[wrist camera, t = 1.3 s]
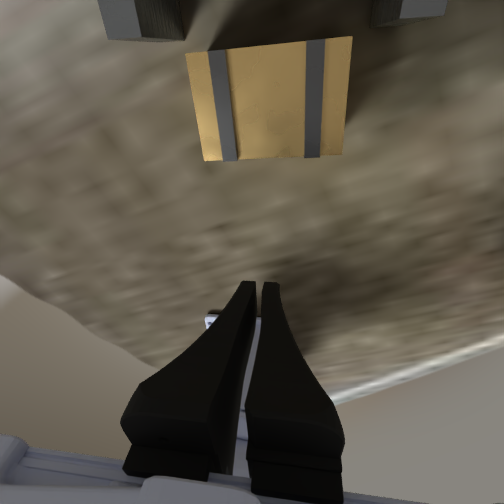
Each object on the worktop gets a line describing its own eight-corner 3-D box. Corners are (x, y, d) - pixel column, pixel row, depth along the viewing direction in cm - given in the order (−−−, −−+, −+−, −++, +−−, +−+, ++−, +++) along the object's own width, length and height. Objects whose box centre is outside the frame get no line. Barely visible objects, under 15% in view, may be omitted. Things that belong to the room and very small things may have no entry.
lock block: (334, 135, 18) (342, 156, 15) (219, 142, 20) (202, 162, 16) (341, 38, 16) (353, 35, 12) (207, 52, 17) (183, 53, 13)
